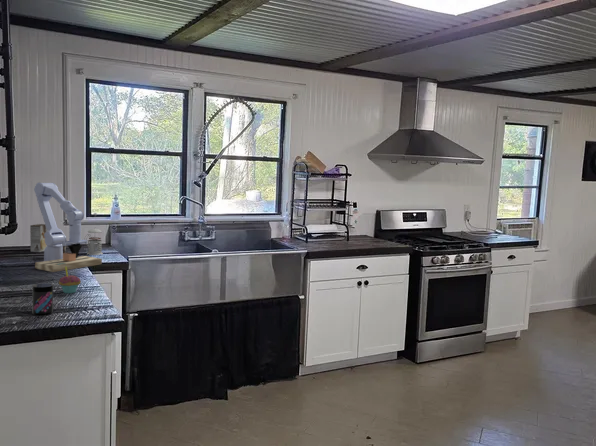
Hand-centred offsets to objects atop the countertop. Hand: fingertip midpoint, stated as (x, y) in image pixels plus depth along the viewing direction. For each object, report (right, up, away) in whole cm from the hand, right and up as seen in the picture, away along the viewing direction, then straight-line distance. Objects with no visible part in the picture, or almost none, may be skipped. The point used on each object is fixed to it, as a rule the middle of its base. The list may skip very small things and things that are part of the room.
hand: (74, 258), depth 277 cm
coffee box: (-39, +1, +40) cm, 56 cm away
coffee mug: (-18, -1, +22) cm, 28 cm away
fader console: (-2, -4, -2) cm, 5 cm away
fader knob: (-2, -1, -3) cm, 4 cm away
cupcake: (+22, -11, -57) cm, 62 cm away
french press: (-6, 0, +39) cm, 39 cm away
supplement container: (+27, -14, -90) cm, 95 cm away
